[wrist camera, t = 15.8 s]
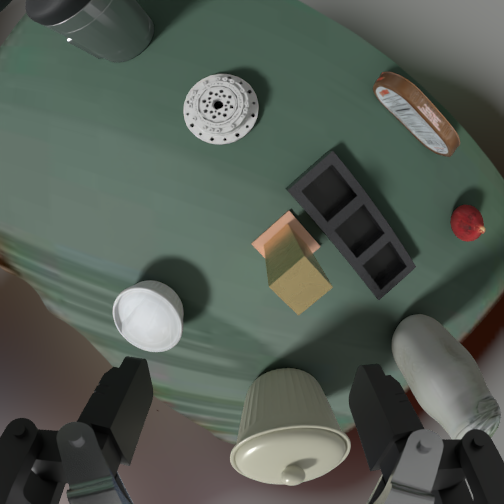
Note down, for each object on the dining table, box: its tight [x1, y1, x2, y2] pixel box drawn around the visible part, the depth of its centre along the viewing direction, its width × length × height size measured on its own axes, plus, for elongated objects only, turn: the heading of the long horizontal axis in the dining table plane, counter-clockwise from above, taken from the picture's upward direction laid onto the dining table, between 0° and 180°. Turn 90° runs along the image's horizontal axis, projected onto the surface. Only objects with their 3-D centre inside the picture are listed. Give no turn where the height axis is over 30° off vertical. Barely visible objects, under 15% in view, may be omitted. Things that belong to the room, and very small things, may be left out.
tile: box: [252, 210, 320, 257], centre depth 42 cm, size 7×7×1 cm
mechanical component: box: [184, 74, 259, 145], centre depth 34 cm, size 10×4×10 cm
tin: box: [373, 72, 460, 157], centre depth 32 cm, size 15×3×8 cm, turn 54°
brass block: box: [264, 223, 333, 315], centre depth 35 cm, size 4×4×14 cm
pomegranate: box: [450, 205, 485, 241], centre depth 37 cm, size 6×6×8 cm
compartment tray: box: [286, 151, 416, 300], centre depth 40 cm, size 22×8×2 cm, turn 43°
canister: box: [230, 368, 351, 485], centre depth 41 cm, size 18×18×21 cm
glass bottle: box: [392, 314, 501, 439], centre depth 33 cm, size 10×10×28 cm
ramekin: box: [113, 280, 184, 352], centre depth 43 cm, size 11×11×5 cm
